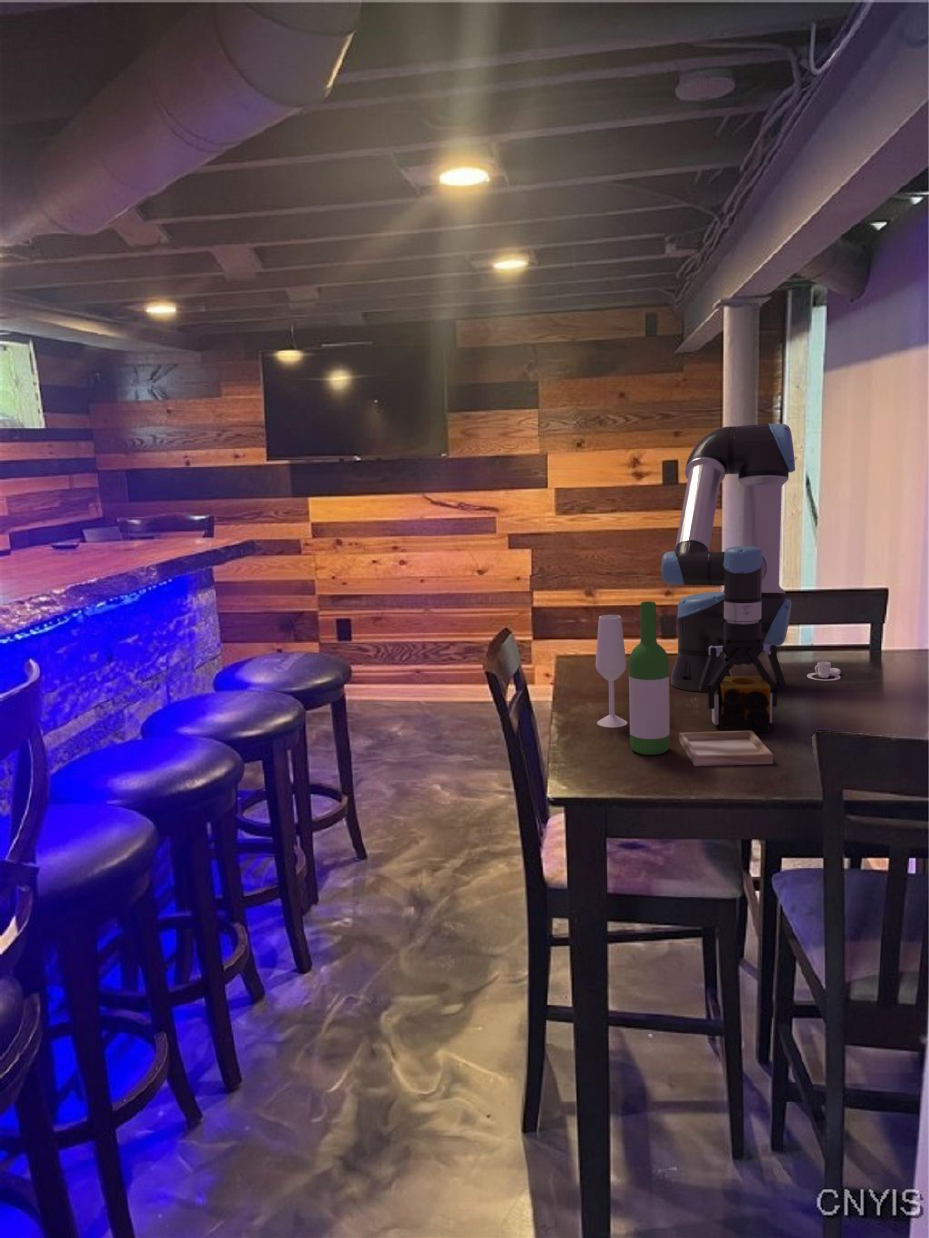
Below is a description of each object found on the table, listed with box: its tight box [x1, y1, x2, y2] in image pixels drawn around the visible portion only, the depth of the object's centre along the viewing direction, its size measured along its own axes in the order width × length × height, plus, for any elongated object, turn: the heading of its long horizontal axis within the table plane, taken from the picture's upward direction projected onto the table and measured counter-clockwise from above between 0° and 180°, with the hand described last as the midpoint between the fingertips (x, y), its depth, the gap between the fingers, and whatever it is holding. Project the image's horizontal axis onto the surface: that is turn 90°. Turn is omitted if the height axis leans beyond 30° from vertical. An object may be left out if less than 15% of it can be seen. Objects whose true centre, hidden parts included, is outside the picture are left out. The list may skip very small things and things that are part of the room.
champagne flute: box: [595, 614, 628, 728], centre depth 186 cm, size 7×7×24 cm
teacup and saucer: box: [806, 661, 842, 682], centre depth 217 cm, size 9×8×4 cm
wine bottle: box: [628, 601, 671, 756], centre depth 167 cm, size 8×8×30 cm
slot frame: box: [678, 730, 774, 767], centre depth 166 cm, size 15×15×2 cm
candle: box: [716, 675, 771, 733], centre depth 181 cm, size 10×10×10 cm
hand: (741, 721), depth 182 cm, fingers closed on candle, 10 cm apart
